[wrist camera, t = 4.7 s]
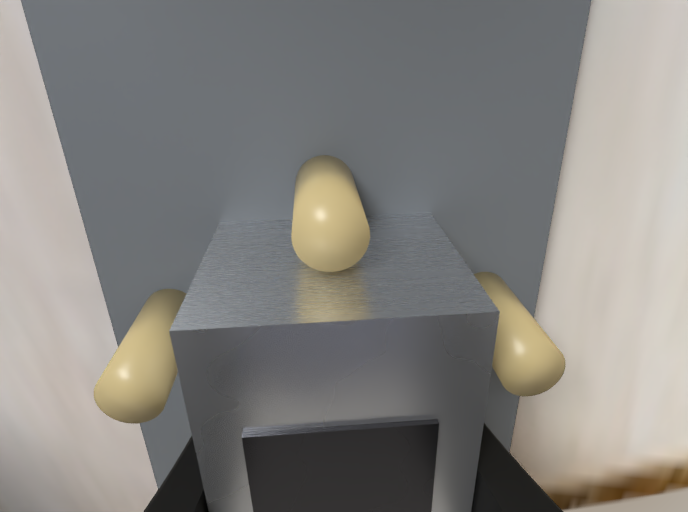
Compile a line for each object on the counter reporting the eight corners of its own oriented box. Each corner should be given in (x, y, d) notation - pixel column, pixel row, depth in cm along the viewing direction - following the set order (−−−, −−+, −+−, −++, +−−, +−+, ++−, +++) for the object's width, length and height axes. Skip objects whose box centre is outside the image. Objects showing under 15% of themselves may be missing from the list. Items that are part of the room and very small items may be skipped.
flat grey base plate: (486, 505, 16) (534, 629, 12) (183, 530, 15) (149, 666, 12) (650, -498, 7) (989, -1024, 3) (-95, -529, 6) (-571, -1199, 3)
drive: (414, 472, 13) (455, 638, 10) (258, 485, 13) (239, 659, 10) (430, 212, 10) (502, 315, 6) (219, 222, 10) (167, 335, 6)
